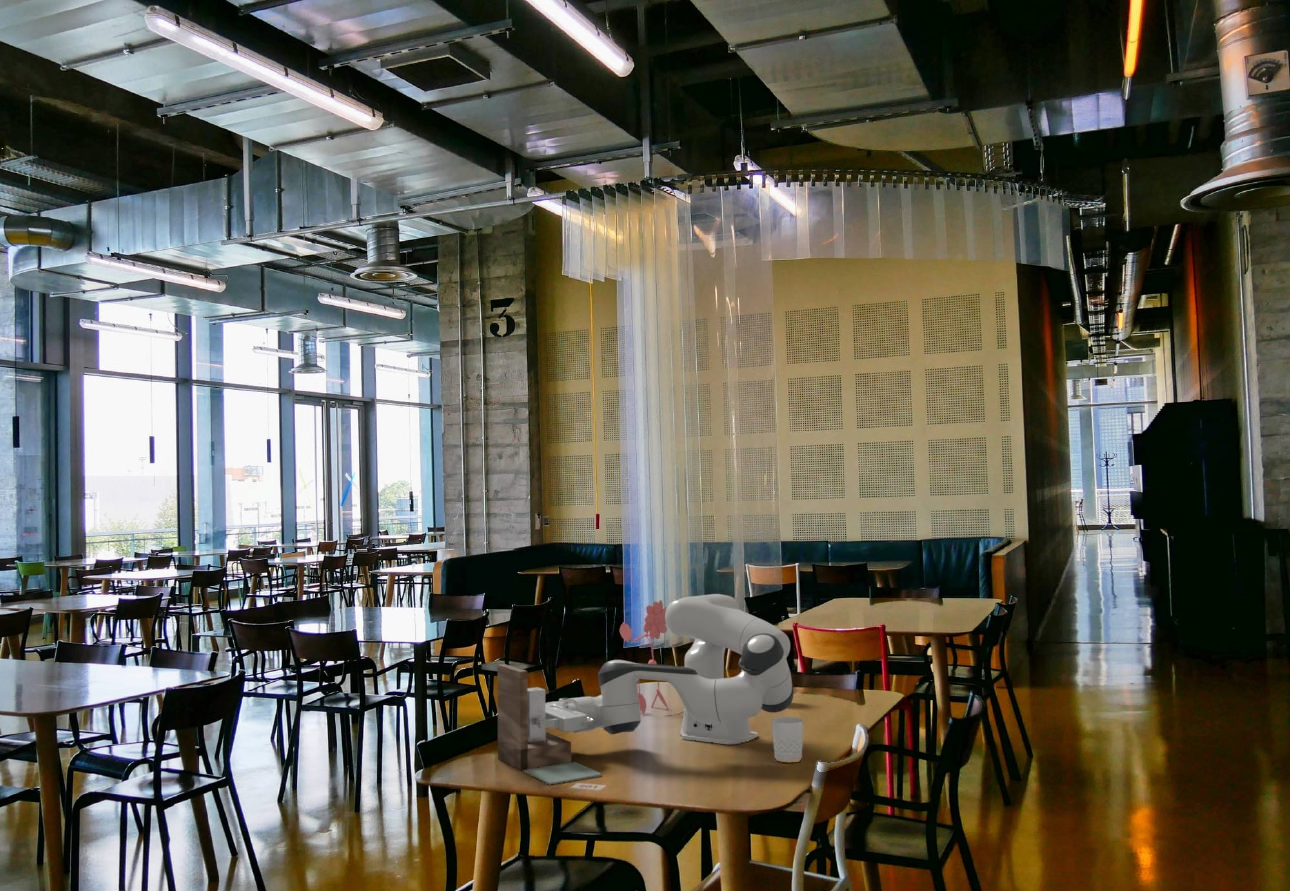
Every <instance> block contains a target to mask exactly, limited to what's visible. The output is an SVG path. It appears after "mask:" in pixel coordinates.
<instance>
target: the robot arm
mask: <svg viewBox="0 0 1290 891" xmlns="http://www.w3.org/2000/svg"><path fill="white" fill-rule="evenodd" d="M665 621H666V624H665V626H666V627H667V630H669V631H670V632H671V633H672V634H673V635H677V636H681V637H686V638H690V639H694V641H693V643H692V645H691V646H690V648H689V649H688V650H687V652H686V653H685V655H684V666H676V665H669V664H668V665H667V664H648V663H641V662H640V663H639V662H638V663H636V662H632V661H628V660H623V659H613V660H609V661H607V662H605V663H603V665H602V666H601V668H599V671H598V672H597V678H598V682H599V687H600V692H601V694H599V695H598V696H590V695H589V696H580V697H571V698H569V697H562V698H559V699H558V701H550V702H549V701H548V702H545V720H539V721H538V727H539V728H546V729H556V730H558V731H561V732H563V733H574V734H578V733H583V732H590V731H594V730H596V729H603V730H604V731H605V732H607V733H608V734H610V735H616V734H621V733H631V732H634V731H635V730H636V729H637V727H638V726H639V725H640V724H641V720H642V718H641V717H642V716H641V714H642V713H641V710H640V704H639V697H638V693H639V686H638V679H639V680H640V679H641V680H649V681H650V680H653V681H658V680H659V681H664V682H667V683H668V684H670V685H671V686H672V687H673V688H674V689H675V691H676V693H677V694H678V696H679V698H680V700H681V702H682V704H683V717H682V723H681V727H680V732H679V734H680V735H681V739H682V740H687V741H695V740H696V741H697V742H705V743H711V742H713V744H721V745H737V744H742V743H741V742H743V743H746V742H745V741H747V740H750V739H752V738H755V737H756V736H757V735H758V736H759V733H758V732H757V731H753V730H751V728H750V723H749V722H750V721H749V718H753V717H755V716H757V715H759V713H760V712H761V710H763V711H765V713H766V712H767V713H772V714H773V713H779V712H783V711H785V710H786V709H788V708H789V707H790V705H792V702H793V700H794V685H793V682H792V674H791V669H790V667H789V664H788V660H787V657H788V656H789V654H790V651H791V641H790V639H789V637H788V635H787V634H786V633H785V632H783V630H781V629H780V628H778V627H777V626H775V625H773V624H772V623H769V621H766V620H764V619H762V618H759V617H757V616H755V615H752V614H750V613H748V612H746V611H743V610H741V609H740V604H739V603H738V602H737V600H736V599H735V598H734V597H732V596H731V595H726V594H721V593H711V594H701V595H694V596H685V597H682V598H679V599H676V600H674V601H672V602H670V603H669V604H668V605H667V609H666V612H665ZM726 649H728V650H730V651H732V652H734V653H737V654H739V655H741V656H740V658H739V661H738V664H737V665H738V667H739V669H740V670H741V672H739V674H737V675H735V676H732V677H724V669H725V668H724V666H725V665H724V663H725V662H724V661H725V660H724V659H725V658H724V657H725V652H726ZM696 741H695V742H696ZM747 742H748V741H747Z"/></svg>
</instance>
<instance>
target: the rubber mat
mask: <svg viewBox="0 0 1290 891" xmlns="http://www.w3.org/2000/svg"><path fill="white" fill-rule="evenodd" d="M524 772H525V773H524ZM523 773H524V774H526V773H527V775H528V774H530V775H531V776H530V775H529V776H530V777H532V776H534V777H536V778H538V779H539V780H538V779H537V780H538V781H540V780H542V781H543V782H542V781H541V782H542V783H544V782H545V783H544V784H546V785H548V784H549V785H548V786H552V785H551V784H554V785H559V784H564V783H563V782H565V783H569V781H571V782H574V781H573V780H577V781H581V780H588V779H593V778H599V777H602V776H603V774H602V773H601V772H598V771H596V770H594V769H592V768H590V767H587V766H586V765H583V764H580V763H578V762H577V761H573V762H572V761H571V762H570V763H564V764H558V765H551V766H545V767H539V768H533V769H527V770H523ZM534 777H533V778H534ZM536 778H535V779H536ZM558 783H559V784H558Z"/></svg>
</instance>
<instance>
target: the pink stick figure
mask: <svg viewBox="0 0 1290 891" xmlns="http://www.w3.org/2000/svg"><path fill="white" fill-rule="evenodd" d="M667 607H668V606H667ZM667 607H664V603H663V600H660V599H659V601H655V600H654V602H653V605H651V604H649V605H647V606H646V608H645V609H646V614H647V615H646V616H645V617H644V626H643V632H644V633H645V634H643V635H641V636H639V637H637V638H635V639H634V638H633V637H632V635H633V634H632V633H633V632H632V628H631V627H630V625H629V624H628V623H625V622H624V621H623V622H622V624H621V625H620V626H619V627H620V628H619V633H620V636H621V638H622V639H623V640H624V641H625V642H626V643H629V642H630V640H631V641H632V643H634V642H637V641H639V640H641V639H643V638H644V637H645V638H646V639H647V641H648V643H649V644H650V650H651V658H652V659H649V661H648V663H647V664H657V661H656V660H655V656H654V646H653V643H652V641H653V640H654V639H656V640H659V639H660V637H661V634H665V633H667V632H668V627H667V625H666V621H665V612H666V609H667ZM649 637H650V638H649ZM651 640H652V641H651ZM657 665H658V664H657ZM637 687H638V697H639V704H640V712H641V714H642V715H644V714H645V713H646V710H647V701H646V698H645V696H644V695H643V694H642V693H641V686H640V679H638V681H637ZM655 692H656V693H655V696H654V699H653V701H652V704H651V705H650V707H651V708H653V707H654V704H655V703H656V700H657V698H659V699H660V701H661V703H662V704H663V705H664V707H665V708H668V704H667V701H666V700H665V698H664V696H663V694H662V693H661V691H660V680H657V688H656V689H655ZM682 713H683V714H684V711H681V712H680V713H676V714H675V713H674V716H676V715H680V714H682ZM672 716H673V714H669V715H668V717H672Z"/></svg>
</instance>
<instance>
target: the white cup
mask: <svg viewBox="0 0 1290 891" xmlns="http://www.w3.org/2000/svg"><path fill="white" fill-rule="evenodd" d="M771 728H772V729H771V730H772V742H773V750H774V752H773V753H774V759H775V758H776V759H778V760H784V761H793V760H799V759H801V758H802V759H803V744H804V743H803V741H804V720H803V719H802V718H799V717H794V716H793V717H792V716H779V717H773V718H772V719H771Z"/></svg>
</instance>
